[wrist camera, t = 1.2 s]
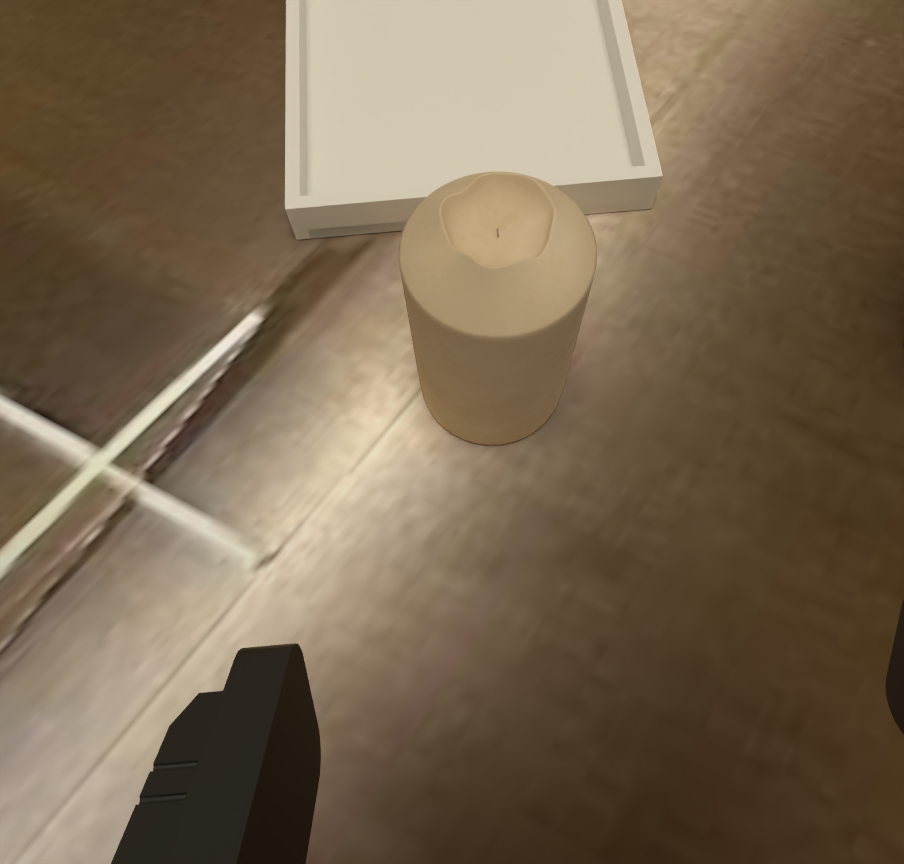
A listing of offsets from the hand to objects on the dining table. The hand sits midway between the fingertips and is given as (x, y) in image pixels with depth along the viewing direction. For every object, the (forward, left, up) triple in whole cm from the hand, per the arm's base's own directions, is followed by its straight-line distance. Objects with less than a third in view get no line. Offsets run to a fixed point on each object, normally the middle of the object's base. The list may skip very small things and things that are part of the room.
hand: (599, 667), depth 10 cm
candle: (0, +11, -15) cm, 19 cm away
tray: (0, +28, -15) cm, 32 cm away
